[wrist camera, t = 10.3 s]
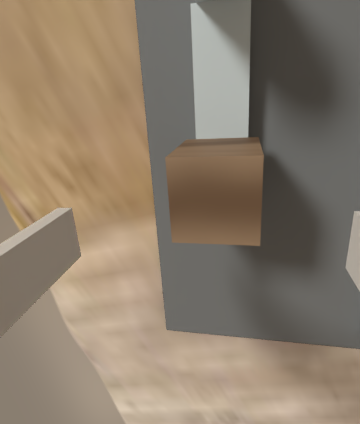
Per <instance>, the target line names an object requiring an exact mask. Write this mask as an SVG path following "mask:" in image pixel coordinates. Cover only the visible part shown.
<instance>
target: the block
mask: <svg viewBox="0 0 360 424" xmlns="http://www.w3.org/2000/svg"><path fill="white" fill-rule="evenodd" d="M165 161H166V174H167V186H168V199H169V212H170V225H171V237H172V243H198V244H224V245H251V246H260V237H261V212H262V187H263V162H264V154H263V151H262V148H261V144H260V141H259V137H245V138H216V139H186V140H185V141H184V142H183V143H182V144H181V145H179V146H178V147H177V148H176V149H175V150H173V151H172V152H171V153H170V154H169V155H168V156H166V157H165Z"/></svg>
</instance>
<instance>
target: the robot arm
mask: <svg viewBox="0 0 360 424" xmlns="http://www.w3.org/2000/svg"><path fill="white" fill-rule="evenodd" d="M80 257H81V252H80V247H79V242H78V237H77V232H76V227H75V222H74V217H73V212H72V208H57V209H55V210H54V211H52V212H51V213H49V214H47V215H46V216H44V217H43V218H41V219H39V220H38V221H36V222H35V223H33V224H31V225H30V226H28V227H27V228H25V229H23V230H22V231H20V232H18V233H17V234H16V235H14V236H12V237H10V238H9V239H7V240H6V241H4V242H2V243H1V244H0V337H1V336H2V335H3V334H4V333H5V332H6V331H7V330H8V329H9V328H10V327H11V326H12V325H13V324H14V323H15V322H16V321H17V320H18V319H19V318H20V317H21V316H22V315H23V314H24V313H25V312H26V311H27V310H28V309H29V308H30V307H31V306H32V305H33V304H34V303H35V302H36V301H37V300H38V299H39V298H40V297H41V296H42V295H43V294H44V293H45V292H46V291H47V290H48V289H49V288H50V287H51V286H52V285H53V284H54V283H55V282H56V281H57V280H58V279H59V278H60V277H61V276H62V275H63V274H64V273H65V272H66V271H67V270H68V269H69V268H70V267H71V266H72V265H73V264H74V263H75V262H76V261H77V260H78V259H79V258H80ZM345 268H346V269H347V271H348V273H349V275H350V276H351V278H352V280H353V281H354V283H355V285H356V286H357V288H358V290H359V291H360V211H354V216H353V222H352V229H351V235H350V242H349V248H348V254H347V261H346V267H345Z"/></svg>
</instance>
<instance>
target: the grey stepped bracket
mask: <svg viewBox="0 0 360 424" xmlns="http://www.w3.org/2000/svg"><path fill="white" fill-rule="evenodd" d="M195 1H196V3H191V4H190V5H191V30H192V55H193V80H194V104H195V129H196V139H216V138H245V137H248V125H249V78H250V31H251V0H195Z"/></svg>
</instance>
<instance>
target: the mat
mask: <svg viewBox="0 0 360 424" xmlns="http://www.w3.org/2000/svg"><path fill="white" fill-rule="evenodd" d="M191 3H196V1H195V0H135V9H136V19H137V29H138V40H139V50H140V60H141V70H142V81H143V91H144V101H145V112H146V122H147V132H148V143H149V153H150V163H151V174H152V184H153V194H154V205H155V215H156V225H157V236H158V246H159V256H160V267H161V277H162V287H163V298H164V308H165V318H166V329H167V330H173V331H183V332H194V333H204V334H214V335H224V336H234V337H244V338H255V339H265V340H275V341H285V342H295V343H305V344H316V345H326V346H336V347H346V348H356V349H360V291H359V290H358V288H357V286H356V285H355V283H354V281H353V280H352V278H351V276H350V275H349V273H348V271H347V269H346V268H345V267H346V261H347V254H348V248H349V242H350V235H351V229H352V222H353V216H354V211H360V0H251V31H250V78H249V125H248V137H259V141H260V144H261V148H262V151H263V154H264V162H263V187H262V212H261V237H260V246H251V245H224V244H198V243H172V237H171V225H170V212H169V199H168V186H167V174H166V161H165V157H166V156H168V155H169V154H170V153H171V152H172V151H173V150H175V149H176V148H177V147H178V146H179V145H181V144H182V143H183V142H184V141H185V140H186V139H196V129H195V104H194V80H193V55H192V30H191V5H190V4H191Z"/></svg>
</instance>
